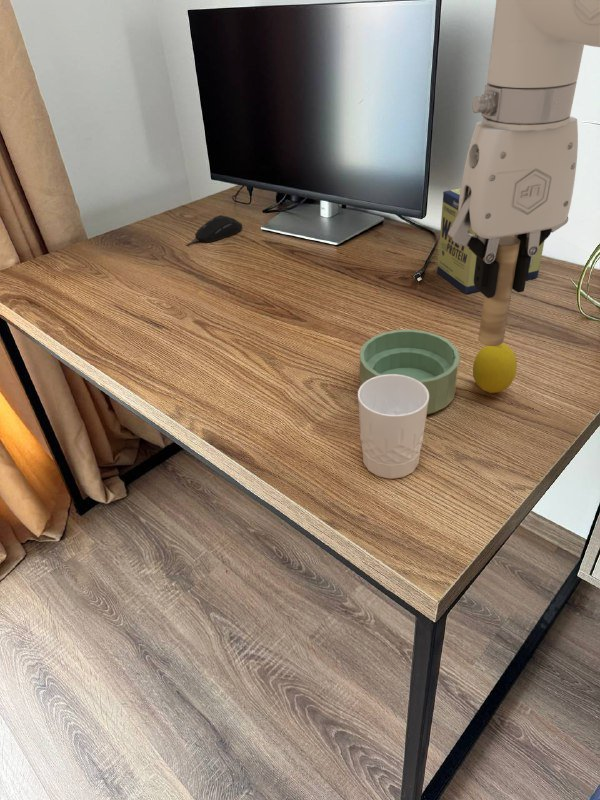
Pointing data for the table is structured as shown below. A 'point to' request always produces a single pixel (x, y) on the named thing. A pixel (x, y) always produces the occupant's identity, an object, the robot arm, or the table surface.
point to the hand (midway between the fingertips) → (499, 288)
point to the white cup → (392, 424)
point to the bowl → (414, 362)
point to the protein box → (464, 250)
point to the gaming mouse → (217, 229)
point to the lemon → (494, 368)
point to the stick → (499, 294)
